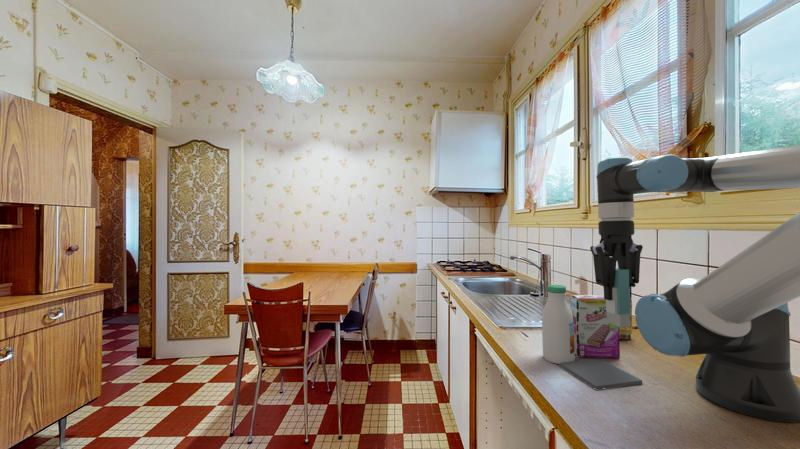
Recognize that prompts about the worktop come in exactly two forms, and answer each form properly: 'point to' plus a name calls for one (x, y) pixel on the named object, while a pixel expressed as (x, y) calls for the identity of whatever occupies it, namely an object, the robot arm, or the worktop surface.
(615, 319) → the stick
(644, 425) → the worktop surface
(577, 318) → the candy bar box
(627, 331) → the sauce bottle
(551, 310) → the milk bottle
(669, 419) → the worktop surface
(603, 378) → the mat
